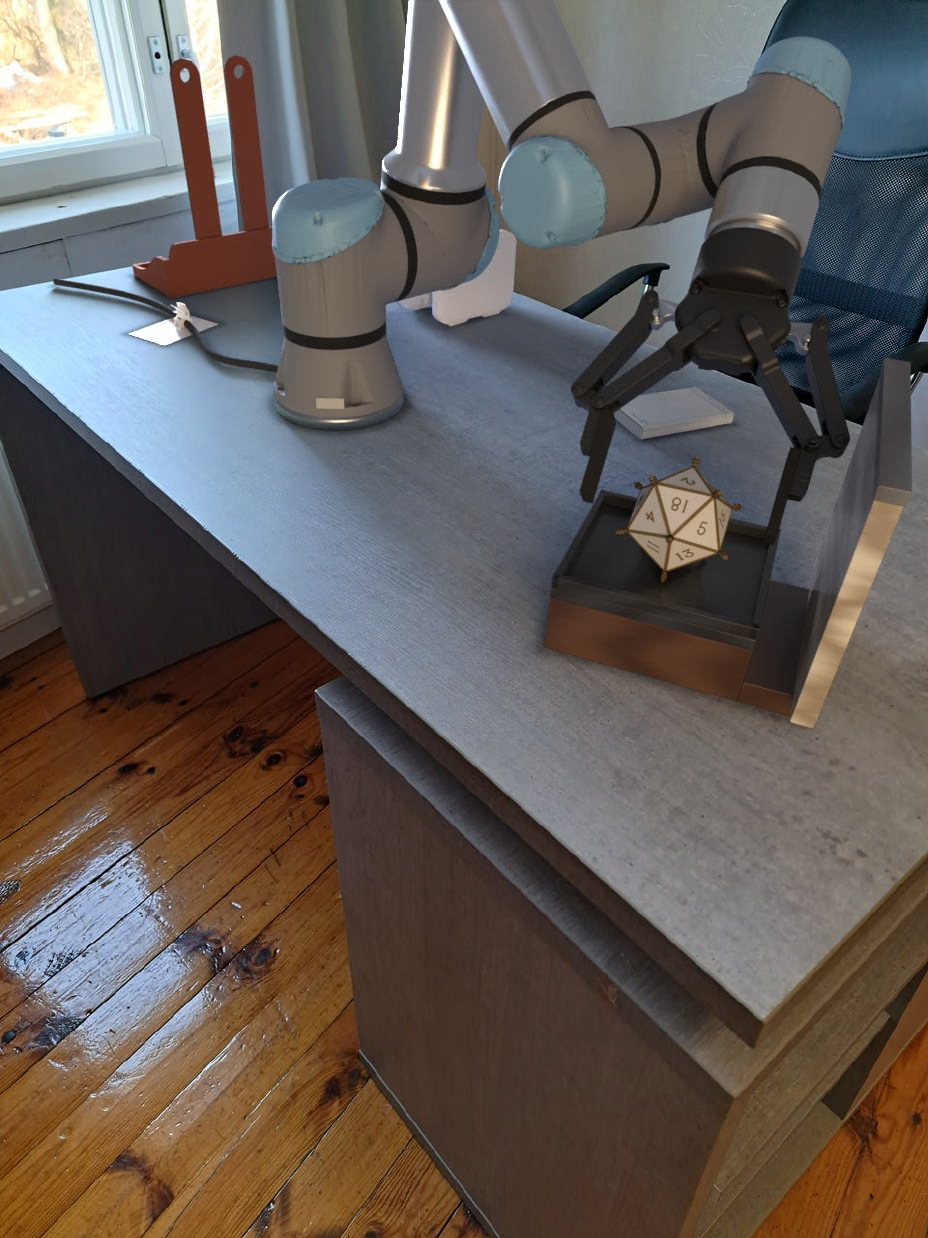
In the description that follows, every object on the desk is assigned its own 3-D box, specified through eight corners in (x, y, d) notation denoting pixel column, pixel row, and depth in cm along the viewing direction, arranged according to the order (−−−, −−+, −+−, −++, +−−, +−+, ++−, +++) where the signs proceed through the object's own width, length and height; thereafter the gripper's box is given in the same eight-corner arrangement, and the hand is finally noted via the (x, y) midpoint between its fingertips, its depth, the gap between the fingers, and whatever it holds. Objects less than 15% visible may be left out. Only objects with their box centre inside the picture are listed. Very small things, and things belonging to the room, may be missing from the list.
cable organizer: (434, 332, 121) (434, 246, 114) (390, 311, 128) (388, 227, 120) (513, 311, 129) (518, 229, 122) (469, 292, 135) (471, 213, 128)
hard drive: (643, 428, 96) (735, 411, 100) (606, 398, 102) (694, 383, 106) (641, 441, 97) (732, 424, 101) (605, 411, 103) (692, 396, 107)
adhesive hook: (195, 326, 120) (192, 303, 118) (182, 331, 119) (177, 309, 117) (180, 321, 122) (176, 299, 120) (166, 327, 120) (162, 304, 118)
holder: (531, 671, 66) (557, 420, 53) (600, 538, 81) (634, 316, 68) (806, 751, 61) (912, 492, 47) (826, 592, 75) (910, 361, 62)
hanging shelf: (267, 250, 149) (245, 43, 131) (308, 269, 142) (290, 53, 123) (134, 275, 137) (88, 51, 118) (170, 297, 129) (127, 61, 110)
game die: (643, 606, 69) (581, 527, 63) (669, 526, 73) (613, 444, 67) (749, 598, 63) (691, 510, 57) (772, 511, 67) (720, 420, 61)
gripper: (916, 302, 65) (843, 569, 63) (596, 255, 72) (524, 495, 70) (945, 246, 57) (864, 546, 56) (586, 200, 64) (505, 466, 63)
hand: (674, 518), depth 63 cm, fingers open, 13 cm apart
